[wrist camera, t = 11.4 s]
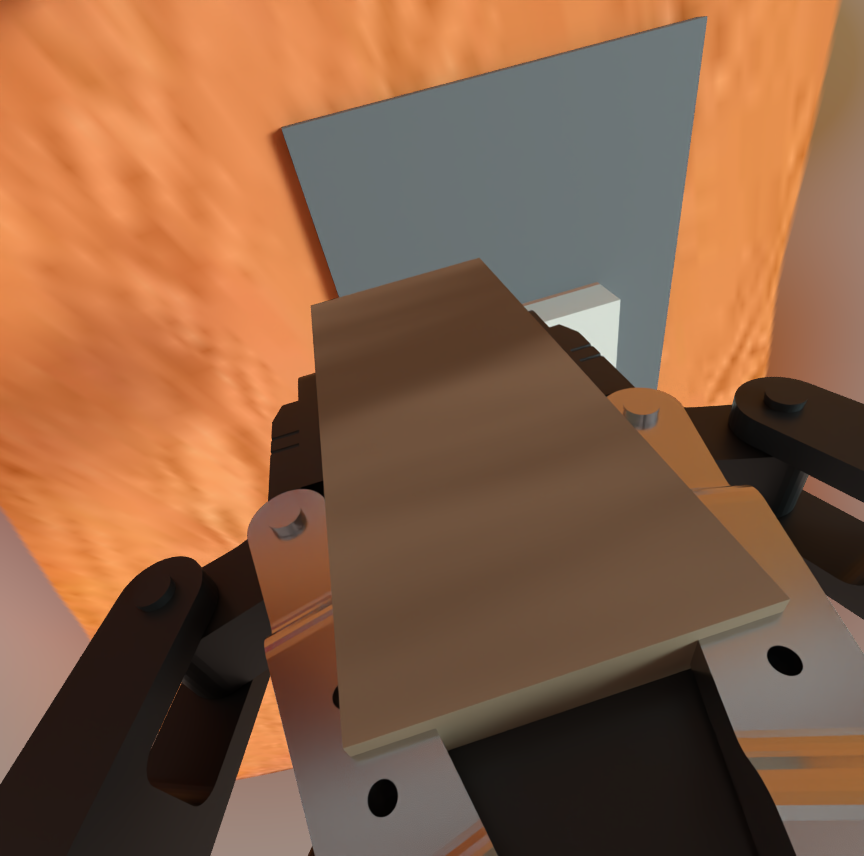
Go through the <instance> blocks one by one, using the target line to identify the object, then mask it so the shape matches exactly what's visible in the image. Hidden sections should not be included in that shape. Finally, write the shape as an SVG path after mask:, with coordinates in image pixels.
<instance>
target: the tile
mask: <svg viewBox="0 0 864 856" xmlns="http://www.w3.org/2000/svg"><path fill="white" fill-rule="evenodd" d="M522 305H523V306H524V307H525V308H526V309H527V310H528V311H530V310H533V311H534V312H535V313H536V314H537V315H538V316H539V317H540V318H541V319H542V320H543V321H544V322H545V323H546V324H547V325H548V326H549V327H552V326H555V325H558V324H560V325H563V326H565V327H568V328H570V329H573V330H575V331H578V332H579V333H580V334H581V335H582V336H583V337H584V338H585V339H586V340H587V341H588V342H589V343H591V346H594V347H595V348H596V349H597V350H598V351H599V352H600V354H601V356H604V357H605V358H606V359H607V360H608V361H609V362H610V363H611V364H612V365H613V366H614V367H615V368H616V361H617V345H618V330H619V314H620V299H619V298H618V297H616V296H615V295H614V294H612V293H611V292H610V291H609V290H607V289H606V288H605V287H603V286H602V285H601V284H599V283H598V282H596V283H592V284H589V285H585V286H582V287H578V288H575V289H572V290H568V291H565V292H561V293H558V294H554V295H551V296H548V297H544V298H541V299H537V300H534V301H530V302H527V303H524V304H522Z"/></svg>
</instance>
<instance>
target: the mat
mask: <svg viewBox="0 0 864 856" xmlns="http://www.w3.org/2000/svg"><path fill="white" fill-rule="evenodd" d="M706 23H707V16H704V17H696V18H692V19H688V20H685V21H681V22H677V23H673V24H669V25H666V26H662V27H658V28H654V29H651V30H647V31H643V32H639V33H635V34H632V35H628V36H624V37H620V38H617V39H613V40H609V41H605V42H601V43H598V44H594V45H590V46H586V47H583V48H579V49H575V50H571V51H567V52H564V53H560V54H556V55H552V56H549V57H545V58H541V59H537V60H533V61H530V62H526V63H522V64H518V65H515V66H511V67H507V68H503V69H499V70H496V71H492V72H488V73H484V74H481V75H477V76H473V77H469V78H465V79H462V80H458V81H454V82H450V83H447V84H443V85H439V86H435V87H431V88H428V89H424V90H420V91H416V92H413V93H409V94H405V95H401V96H397V97H394V98H390V99H386V100H382V101H379V102H375V103H371V104H367V105H363V106H360V107H356V108H352V109H348V110H344V111H341V112H337V113H333V114H329V115H326V116H322V117H318V118H314V119H310V120H307V121H303V122H299V123H295V124H292V125H288V126H284V127H282V132H283V135H284V138H285V141H286V144H287V146H288V149H289V152H290V155H291V158H292V161H293V164H294V167H295V170H296V173H297V176H298V179H299V182H300V184H301V187H302V190H303V193H304V196H305V199H306V202H307V205H308V208H309V211H310V214H311V217H312V220H313V222H314V225H315V228H316V231H317V234H318V237H319V240H320V243H321V246H322V249H323V252H324V255H325V257H326V260H327V263H328V266H329V269H330V272H331V275H332V278H333V281H334V284H335V287H336V290H337V293H338V295H339V297H343V296H346V295H350V294H353V293H357V292H360V291H364V290H367V289H371V288H374V287H378V286H381V285H385V284H388V283H392V282H395V281H399V280H402V279H406V278H409V277H413V276H417V275H420V274H424V273H427V272H431V271H434V270H438V269H441V268H445V267H448V266H452V265H455V264H459V263H462V262H466V261H469V260H473V259H476V258H480V259H481V260H482V261H483V262H484V263H485V264H486V265H487V266H488V268H489V269H490V270H491V271H492V272H493V273H494V274H495V275H496V276H497V277H498V279H499V280H500V281H501V282H502V283H503V284H504V285H505V286H506V287H507V288H508V289H509V291H510V292H511V293H512V294H513V295H514V296H515V297H516V298H517V299H518V300H519V302H520V303H521V304H524V303H527V302H530V301H534V300H537V299H541V298H544V297H548V296H551V295H554V294H558V293H561V292H565V291H568V290H572V289H575V288H578V287H582V286H585V285H589V284H592V283H596V282H598V283H599V284H601V285H602V286H603V287H605V288H606V289H607V290H609V291H610V292H611V293H612V294H614V295H615V296H616V297H618V298H619V299H620V314H619V330H618V345H617V361H616V369H617V370H618V371H619V372H620V373H621V374H622V375H623V376H624V377H625V378H626V379H627V380H628V381H629V382H630V383H631V384H632V385H633V386H634V387H635V388H650V389H655V390H657V385H658V378H659V370H660V363H661V356H662V348H663V341H664V333H665V326H666V319H667V311H668V304H669V297H670V289H671V282H672V274H673V267H674V260H675V252H676V245H677V237H678V230H679V223H680V215H681V208H682V201H683V193H684V186H685V178H686V171H687V164H688V156H689V149H690V142H691V134H692V127H693V119H694V112H695V105H696V97H697V90H698V82H699V75H700V68H701V60H702V53H703V46H704V38H705V31H706Z"/></svg>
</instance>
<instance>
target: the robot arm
mask: <svg viewBox="0 0 864 856" xmlns="http://www.w3.org/2000/svg"><path fill="white" fill-rule="evenodd" d="M529 313H530V314H531V315H532V316H533V317H534V318H535V319H536V320H537V321H538V322H539V324H540V325H541V326H542V327H543V328H544V329H545V330H546V331H547V332H548V333H549V335H550V336H551V337H552V338H553V339H554V340H555V341H556V342H557V343H558V344H559V345H560V347H561V348H562V349H563V350H564V351H565V352H566V353H567V354H568V355H569V356H570V358H571V359H572V360H573V361H574V362H575V363H576V364H577V365H578V366H579V367H580V369H581V370H582V371H583V372H584V373H585V374H586V375H587V376H588V377H589V378H590V380H591V381H592V382H593V383H594V384H595V385H596V386H597V387H598V388H599V389H600V390H601V392H602V393H603V394H604V395H605V396H606V397H607V398H608V399H609V400H610V401H611V403H612V404H613V405H614V406H615V407H616V408H617V409H618V410H619V411H620V412H621V414H622V415H623V416H624V417H625V418H626V419H627V420H628V421H629V422H630V423H631V425H632V426H633V427H634V428H635V429H636V430H637V431H638V432H639V433H640V434H641V436H642V437H643V438H644V439H645V440H646V441H647V442H648V443H649V444H650V445H651V446H652V448H653V449H654V450H655V451H656V452H657V453H658V454H659V455H660V456H661V457H662V459H663V460H664V461H665V462H666V463H667V464H668V465H669V466H670V467H671V468H672V470H673V471H674V472H675V473H676V474H677V475H678V476H679V477H680V478H681V479H682V481H683V482H684V483H685V484H686V485H687V486H688V487H689V488H690V489H691V490H692V492H693V493H694V494H695V495H696V496H697V497H698V498H699V499H700V500H701V501H702V502H703V504H704V505H705V506H706V507H707V508H708V509H709V510H710V511H711V512H712V513H713V515H714V516H715V517H716V518H717V519H718V520H719V521H720V522H721V523H722V524H723V526H724V527H725V528H726V529H727V530H728V531H729V532H730V533H731V534H732V535H733V537H734V538H735V539H736V540H737V541H738V542H739V543H740V544H741V545H742V546H743V547H744V549H745V550H746V551H747V552H748V553H749V554H750V555H751V556H752V557H753V558H754V560H755V561H756V562H757V563H758V564H759V565H760V566H761V567H762V568H763V569H764V571H765V572H766V573H767V574H768V575H769V576H770V577H771V578H772V579H773V580H774V582H775V583H776V584H777V585H778V586H779V587H780V588H781V589H782V590H783V591H784V593H785V594H786V595H787V596H788V597H789V598H790V600H789V602H788V604H787V606H786V608H785V610H784V611H783V612H780V613H777V614H774V615H771V616H768V617H765V618H762V619H759V620H756V621H753V622H750V623H747V624H744V625H741V626H738V627H735V628H732V629H730V630H727V631H724V632H721V633H718V634H715V635H712V636H709V637H706V638H703V639H700V640H698V642H697V645H696V648H695V651H694V654H693V657H692V660H691V663H690V666H691V668H690V669H687V670H684V671H681V672H678V673H676V674H673V675H670V676H667V677H664V678H661V679H658V680H655V681H652V682H649V683H646V684H643V685H640V686H637V687H634V688H631V689H628V690H625V691H622V692H619V693H617V694H614V695H611V696H608V697H605V698H602V699H599V700H596V701H593V702H590V703H587V704H584V705H581V706H578V707H575V708H572V709H569V710H566V711H563V712H561V713H558V714H555V715H552V716H549V717H546V718H543V719H540V720H537V721H534V722H531V723H528V724H525V725H522V726H519V727H516V728H513V729H510V730H507V731H504V732H502V733H499V734H496V735H493V736H490V737H487V738H484V739H481V740H478V741H475V742H472V743H469V744H466V745H463V746H460V747H457V748H454V749H451V750H447V748H446V746H445V744H444V743H443V741H442V739H441V737H440V735H439V733H438V731H437V729H436V728H435V729H432V730H429V731H426V732H423V733H420V734H417V735H414V736H411V737H408V738H405V739H402V740H399V741H396V742H393V743H390V744H387V745H384V746H381V747H378V748H375V749H372V750H370V751H367V752H364V753H361V754H358V755H355V756H352V757H350V756H349V755H348V754H347V753H346V752H345V751H344V750H343V746H342V732H341V718H340V704H339V690H338V676H337V662H336V649H335V635H334V621H333V607H332V593H331V579H330V566H329V552H328V538H327V524H326V510H325V496H324V482H323V469H322V455H321V441H320V427H319V413H318V399H317V386H316V373H313V374H310V375H306V376H303V377H299V378H298V401H296V402H293V403H289V404H286V405H283V406H282V407H281V409H280V410H279V412H278V414H277V415H276V417H275V419H274V420H273V422H272V441H271V453H272V455H271V456H270V475H269V494H268V502H267V503H265V504H264V505H263V506H262V507H261V508H260V509H259V510H258V511H257V512H256V514H255V515H254V517H253V518H252V520H251V522H250V524H249V527H248V532H247V538H248V539H247V540H246V541H244V542H243V543H242V544H241V545H239V546H238V547H236V548H235V549H233V550H231V551H230V552H228V553H226V554H224V555H223V556H221V557H219V558H218V559H216V560H214V561H212V562H211V563H209V564H207V565H206V566H204V567H201V566H200V565H199V564H198V563H197V562H196V561H195V560H194V559H192V558H189V557H183V556H178V557H171V558H167V559H164V560H162V561H159V562H157V563H155V564H153V565H151V566H150V567H148V568H147V569H145V570H144V571H142V572H141V573H140V574H138V575H137V576H136V577H135V578H134V579H133V580H132V581H131V582H130V583H129V584H128V585H127V586H126V587H125V589H124V590H123V591H122V593H121V594H120V596H119V597H118V599H117V600H116V602H115V604H114V605H113V607H112V608H111V610H110V611H109V613H108V615H107V616H106V618H105V619H104V621H103V623H102V624H101V626H100V627H99V629H98V630H97V632H96V634H95V635H94V637H93V638H92V640H91V642H90V643H89V645H88V646H87V648H86V650H85V651H84V653H83V654H82V656H81V657H80V659H79V661H78V662H77V664H76V666H75V667H74V669H73V670H72V672H71V673H70V675H69V676H68V678H67V680H66V681H65V683H64V685H63V686H62V688H61V689H60V691H59V693H58V694H57V696H56V697H55V699H54V700H53V702H52V703H51V705H50V707H49V708H48V710H47V711H46V713H45V715H44V716H43V718H42V719H41V721H40V722H39V724H38V726H37V727H36V729H35V730H34V732H33V733H32V735H31V737H30V738H29V740H28V741H27V743H26V745H25V747H24V748H23V749H22V751H21V753H20V754H19V756H18V757H17V759H16V761H15V762H14V764H13V765H12V767H11V768H10V770H9V772H8V773H7V775H6V776H5V778H4V779H3V781H2V783H1V784H0V856H210V855H211V851H212V849H213V846H214V843H215V840H216V837H217V834H218V831H219V828H220V825H221V822H222V819H223V816H224V813H225V810H226V807H227V804H228V801H229V798H230V795H231V792H232V789H233V786H234V783H235V780H236V777H237V774H238V771H239V768H240V765H241V762H242V759H243V756H244V753H245V750H246V747H247V744H248V741H249V738H250V735H251V732H252V729H253V726H254V723H255V720H256V717H257V714H258V711H259V708H260V705H261V702H262V699H263V696H264V693H265V690H266V687H267V684H268V681H269V678H270V676H271V680H272V684H273V688H274V692H275V696H276V700H277V704H278V708H279V712H280V716H281V720H282V724H283V728H284V732H285V736H286V741H287V745H288V749H289V753H290V757H291V761H292V765H293V769H294V773H295V777H296V781H297V785H298V789H299V793H300V797H301V801H302V805H303V809H304V813H305V818H306V822H307V825H308V829H309V834H310V838H311V842H312V848H311V850H310V852H309V854H308V856H864V654H863V652H862V651H861V649H860V648H859V646H858V645H857V643H856V642H855V640H854V638H853V637H852V635H851V634H850V632H849V630H848V629H847V627H846V626H845V624H844V623H843V621H842V620H841V618H840V616H839V615H838V613H837V612H836V610H835V608H834V607H833V606H832V604H831V602H830V601H829V599H828V598H827V596H829V597H830V598H831V599H833V600H835V601H836V602H838V603H839V604H841V605H842V606H844V607H845V608H847V609H848V610H850V611H851V612H853V613H854V614H856V615H857V616H859V617H861V618H862V619H864V522H862V521H860V520H858V519H856V518H855V517H853V516H851V515H849V514H847V513H845V512H844V511H841V510H840V509H838V508H836V507H834V506H832V505H830V504H828V503H827V502H825V501H823V500H821V499H819V498H817V497H815V496H813V495H811V494H810V493H808V492H806V491H804V490H802V489H803V487H804V484H805V482H806V480H807V478H808V475H810V476H812V477H814V478H816V479H818V480H820V481H822V482H824V483H826V484H828V485H830V486H832V487H834V488H836V489H838V490H840V491H842V492H844V493H846V494H848V495H850V496H852V497H854V498H856V499H858V500H860V501H862V502H864V404H862V403H860V402H857V401H854V400H852V399H849V398H846V397H844V396H841V395H838V394H836V393H833V392H830V391H828V390H825V389H823V388H820V387H817V386H815V385H812V384H809V383H807V382H803V381H800V380H796V379H791V378H783V377H765V378H758V379H754V380H751V381H748V382H746V383H744V384H743V385H741V386H740V387H739V388H738V389H737V391H736V393H735V397H734V400H733V404H732V405H722V406H708V407H689V408H686V407H683V406H682V404H681V403H680V402H679V401H678V400H677V399H676V398H674V397H673V396H671V395H669V394H667V393H665V392H662V391H659V390H655V389H650V388H635V387H634V386H633V385H632V384H631V383H630V382H629V381H628V380H627V379H626V378H625V377H624V376H623V375H622V374H621V373H620V372H619V371H618V370H617V369H616V368H615V367H614V366H613V365H612V364H611V363H610V362H609V361H608V360H607V359H606V358H605V357H604V356H601V354H600V352H599V351H598V350H597V349H596V348H595V347H594V346H591V343H589V342H588V341H587V340H586V339H585V338H584V337H583V336H582V335H581V334H580V333H579V332H578V331H575V330H573V329H570V328H568V327H565V326H563V325H560V324H558V325H555V326H552V327H549V326H548V325H547V324H546V323H545V322H544V321H543V320H542V319H541V318H540V317H539V316H538V315H537V314H536V313H535V312H534V311H533V310H530V311H529ZM826 595H827V596H826ZM181 682H182V683H181ZM180 684H181V685H180ZM179 686H180V687H179ZM177 691H178V692H177ZM176 693H177V694H176ZM175 695H176V696H175ZM174 697H175V698H174ZM173 699H174V700H173ZM172 702H173V703H172ZM171 704H172V705H171ZM170 706H171V707H170ZM169 708H170V709H169ZM168 710H169V711H168ZM167 712H168V713H167ZM166 715H167V716H166ZM165 717H166V718H165ZM164 719H165V720H164ZM163 721H164V722H163ZM162 723H163V724H162ZM160 728H161V729H160ZM159 730H160V731H159ZM158 732H159V733H158ZM157 734H158V735H157ZM156 736H157V737H156ZM155 739H156V740H155ZM154 741H155V742H154ZM153 743H154V744H153ZM152 745H153V746H152Z"/></svg>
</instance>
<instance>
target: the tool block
mask: <svg viewBox="0 0 864 856" xmlns="http://www.w3.org/2000/svg"><path fill="white" fill-rule="evenodd" d="M311 316H312V330H313V344H314V358H315V372H316V386H317V399H318V413H319V427H320V441H321V455H322V469H323V482H324V496H325V510H326V524H327V538H328V552H329V566H330V579H331V593H332V607H333V621H334V635H335V649H336V662H337V676H338V690H339V704H340V718H341V732H342V746H343V750H344V751H345V752H346V753H347V754H348V755H349V756H350V757H352V756H355V755H358V754H361V753H364V752H367V751H370V750H372V749H375V748H378V747H381V746H384V745H387V744H390V743H393V742H396V741H399V740H402V739H405V738H408V737H411V736H414V735H417V734H420V733H423V732H426V731H429V730H432V729H435V728H436V729H437V731H438V733H439V735H440V737H441V739H442V741H443V743H444V744H445V746H446V748H447V750H451V749H454V748H457V747H460V746H463V745H466V744H469V743H472V742H475V741H478V740H481V739H484V738H487V737H490V736H493V735H496V734H499V733H502V732H504V731H507V730H510V729H513V728H516V727H519V726H522V725H525V724H528V723H531V722H534V721H537V720H540V719H543V718H546V717H549V716H552V715H555V714H558V713H561V712H563V711H566V710H569V709H572V708H575V707H578V706H581V705H584V704H587V703H590V702H593V701H596V700H599V699H602V698H605V697H608V696H611V695H614V694H617V693H619V692H622V691H625V690H628V689H631V688H634V687H637V686H640V685H643V684H646V683H649V682H652V681H655V680H658V679H661V678H664V677H667V676H670V675H673V674H676V673H678V672H681V671H684V670H687V669H690V668H691V666H690V663H691V660H692V657H693V654H694V651H695V648H696V645H697V642H698V640H700V639H703V638H706V637H709V636H712V635H715V634H718V633H721V632H724V631H727V630H730V629H732V628H735V627H738V626H741V625H744V624H747V623H750V622H753V621H756V620H759V619H762V618H765V617H768V616H771V615H774V614H777V613H780V612H783V611H784V610H785V608H786V606H787V604H788V602H789V600H790V598H789V597H788V596H787V595H786V594H785V593H784V591H783V590H782V589H781V588H780V587H779V586H778V585H777V584H776V583H775V582H774V580H773V579H772V578H771V577H770V576H769V575H768V574H767V573H766V572H765V571H764V569H763V568H762V567H761V566H760V565H759V564H758V563H757V562H756V561H755V560H754V558H753V557H752V556H751V555H750V554H749V553H748V552H747V551H746V550H745V549H744V547H743V546H742V545H741V544H740V543H739V542H738V541H737V540H736V539H735V538H734V537H733V535H732V534H731V533H730V532H729V531H728V530H727V529H726V528H725V527H724V526H723V524H722V523H721V522H720V521H719V520H718V519H717V518H716V517H715V516H714V515H713V513H712V512H711V511H710V510H709V509H708V508H707V507H706V506H705V505H704V504H703V502H702V501H701V500H700V499H699V498H698V497H697V496H696V495H695V494H694V493H693V492H692V490H691V489H690V488H689V487H688V486H687V485H686V484H685V483H684V482H683V481H682V479H681V478H680V477H679V476H678V475H677V474H676V473H675V472H674V471H673V470H672V468H671V467H670V466H669V465H668V464H667V463H666V462H665V461H664V460H663V459H662V457H661V456H660V455H659V454H658V453H657V452H656V451H655V450H654V449H653V448H652V446H651V445H650V444H649V443H648V442H647V441H646V440H645V439H644V438H643V437H642V436H641V434H640V433H639V432H638V431H637V430H636V429H635V428H634V427H633V426H632V425H631V423H630V422H629V421H628V420H627V419H626V418H625V417H624V416H623V415H622V414H621V412H620V411H619V410H618V409H617V408H616V407H615V406H614V405H613V404H612V403H611V401H610V400H609V399H608V398H607V397H606V396H605V395H604V394H603V393H602V392H601V390H600V389H599V388H598V387H597V386H596V385H595V384H594V383H593V382H592V381H591V380H590V378H589V377H588V376H587V375H586V374H585V373H584V372H583V371H582V370H581V369H580V367H579V366H578V365H577V364H576V363H575V362H574V361H573V360H572V359H571V358H570V356H569V355H568V354H567V353H566V352H565V351H564V350H563V349H562V348H561V347H560V345H559V344H558V343H557V342H556V341H555V340H554V339H553V338H552V337H551V336H550V335H549V333H548V332H547V331H546V330H545V329H544V328H543V327H542V326H541V325H540V324H539V322H538V321H537V320H536V319H535V318H534V317H533V316H532V315H531V314H530V313H529V311H528V310H527V309H526V308H525V307H524V306H523V305H522V304H521V303H520V302H519V300H518V299H517V298H516V297H515V296H514V295H513V294H512V293H511V292H510V291H509V289H508V288H507V287H506V286H505V285H504V284H503V283H502V282H501V281H500V280H499V279H498V277H497V276H496V275H495V274H494V273H493V272H492V271H491V270H490V269H489V268H488V266H487V265H486V264H485V263H484V262H483V261H482V260H481V259H480V258H476V259H473V260H469V261H466V262H462V263H459V264H455V265H452V266H448V267H445V268H441V269H438V270H434V271H431V272H427V273H424V274H420V275H417V276H413V277H409V278H406V279H402V280H399V281H395V282H392V283H388V284H385V285H381V286H378V287H374V288H371V289H367V290H364V291H360V292H357V293H353V294H350V295H346V296H343V297H339V298H336V299H332V300H329V301H325V302H322V303H318V304H315V305H311Z"/></svg>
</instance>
